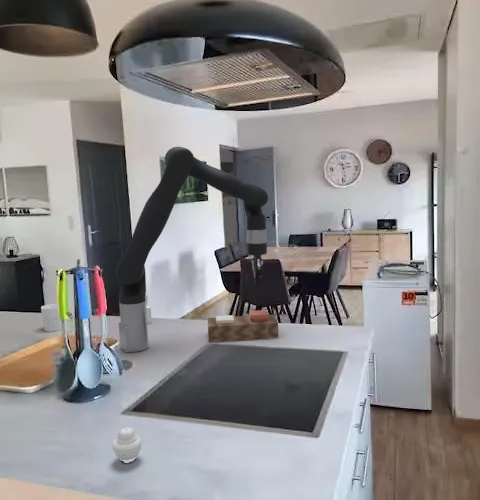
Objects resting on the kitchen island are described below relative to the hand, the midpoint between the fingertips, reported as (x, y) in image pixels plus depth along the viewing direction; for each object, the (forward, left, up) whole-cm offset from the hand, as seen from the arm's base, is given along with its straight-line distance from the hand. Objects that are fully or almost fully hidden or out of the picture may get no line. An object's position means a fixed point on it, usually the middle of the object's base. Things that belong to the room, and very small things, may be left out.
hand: (257, 286), depth 181 cm
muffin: (-73, -51, -19) cm, 91 cm away
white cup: (-62, +61, -19) cm, 89 cm away
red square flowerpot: (0, 0, -16) cm, 16 cm away
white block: (-11, +6, -17) cm, 22 cm away
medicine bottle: (-29, +46, -19) cm, 58 cm away
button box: (-6, +3, -19) cm, 20 cm away
